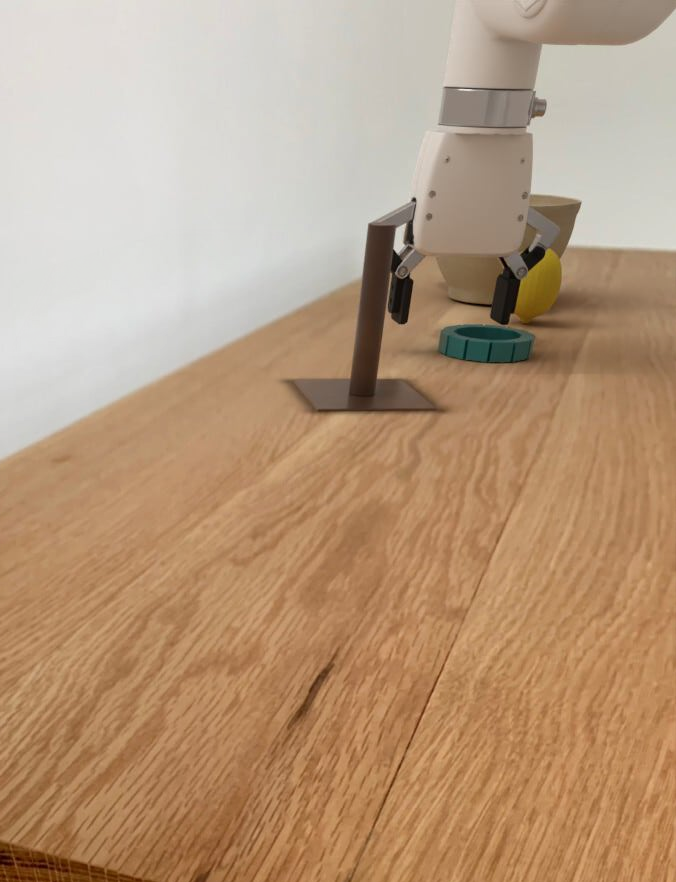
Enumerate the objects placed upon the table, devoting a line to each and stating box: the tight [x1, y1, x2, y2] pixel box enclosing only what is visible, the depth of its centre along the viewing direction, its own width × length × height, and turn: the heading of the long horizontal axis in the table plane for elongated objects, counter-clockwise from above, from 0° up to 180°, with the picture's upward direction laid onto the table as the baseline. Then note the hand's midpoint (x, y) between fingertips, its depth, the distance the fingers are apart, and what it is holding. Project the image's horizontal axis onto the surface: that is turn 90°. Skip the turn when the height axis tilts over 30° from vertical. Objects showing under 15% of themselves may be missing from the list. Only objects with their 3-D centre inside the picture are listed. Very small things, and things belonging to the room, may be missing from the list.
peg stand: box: [292, 221, 437, 413], centre depth 83 cm, size 9×9×14 cm
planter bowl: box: [435, 193, 583, 305], centre depth 127 cm, size 16×16×11 cm
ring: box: [437, 323, 536, 364], centre depth 105 cm, size 8×8×2 cm
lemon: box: [513, 248, 563, 324], centre depth 116 cm, size 6×6×8 cm
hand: (448, 321), depth 104 cm, fingers open, 9 cm apart
